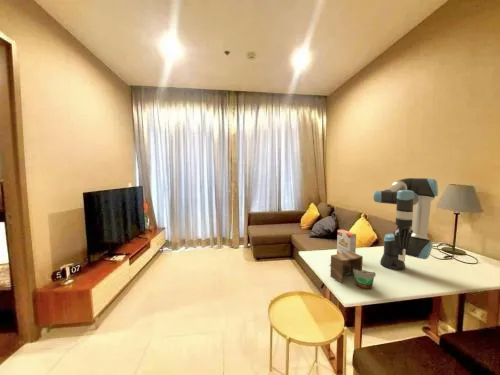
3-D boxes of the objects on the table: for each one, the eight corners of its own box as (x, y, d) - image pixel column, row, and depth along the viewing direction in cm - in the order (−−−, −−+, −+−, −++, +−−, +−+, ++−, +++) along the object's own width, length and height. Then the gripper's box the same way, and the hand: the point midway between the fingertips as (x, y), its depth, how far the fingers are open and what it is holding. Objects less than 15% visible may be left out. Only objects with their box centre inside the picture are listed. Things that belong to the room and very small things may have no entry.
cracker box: (336, 254, 180) (337, 229, 178) (342, 253, 182) (342, 229, 180) (349, 261, 167) (350, 234, 165) (355, 260, 169) (356, 233, 167)
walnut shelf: (350, 271, 150) (351, 251, 149) (361, 277, 142) (362, 256, 141) (330, 276, 144) (331, 255, 143) (340, 283, 136) (341, 260, 134)
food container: (352, 287, 130) (352, 271, 130) (352, 283, 136) (352, 267, 135) (375, 292, 125) (376, 275, 124) (375, 287, 131) (375, 271, 130)
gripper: (405, 216, 127) (402, 256, 129) (389, 218, 122) (387, 259, 124) (419, 218, 120) (416, 261, 122) (402, 221, 115) (400, 264, 117)
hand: (401, 260), depth 123 cm, fingers closed
